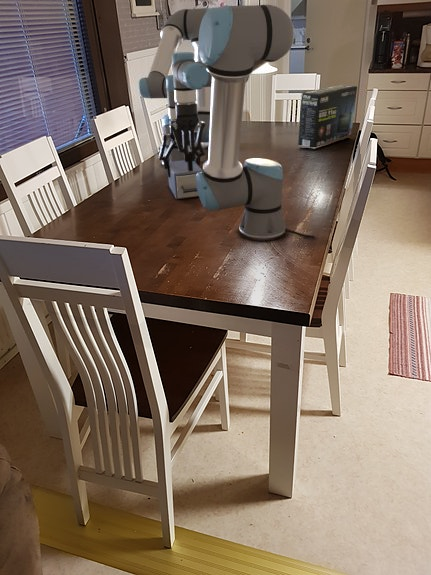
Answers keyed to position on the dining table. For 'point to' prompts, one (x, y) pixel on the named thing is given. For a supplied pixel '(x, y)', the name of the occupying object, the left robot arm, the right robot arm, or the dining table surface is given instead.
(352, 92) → the router box
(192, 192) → the drawer
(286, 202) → the dining table surface
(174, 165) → the cabinet
